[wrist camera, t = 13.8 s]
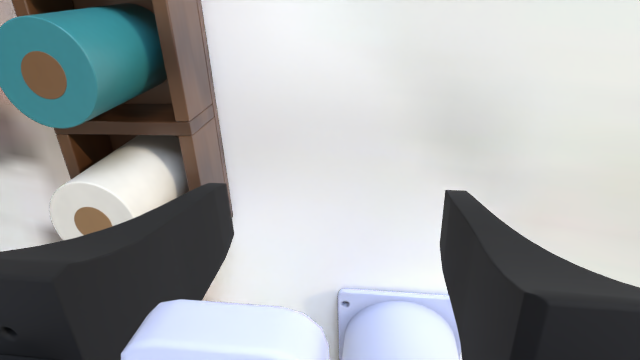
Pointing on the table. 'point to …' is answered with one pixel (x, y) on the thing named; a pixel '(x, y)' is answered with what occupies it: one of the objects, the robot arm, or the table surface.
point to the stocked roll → (120, 186)
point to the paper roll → (79, 61)
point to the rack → (154, 96)
